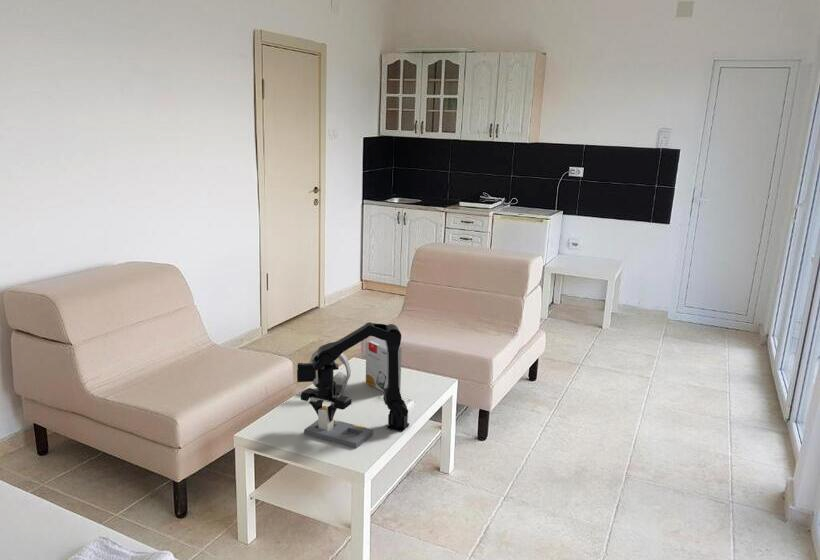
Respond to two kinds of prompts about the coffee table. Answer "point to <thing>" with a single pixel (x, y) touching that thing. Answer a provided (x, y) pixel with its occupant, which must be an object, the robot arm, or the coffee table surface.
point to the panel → (340, 433)
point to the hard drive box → (379, 364)
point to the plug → (324, 419)
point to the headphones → (339, 377)
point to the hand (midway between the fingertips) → (325, 419)
